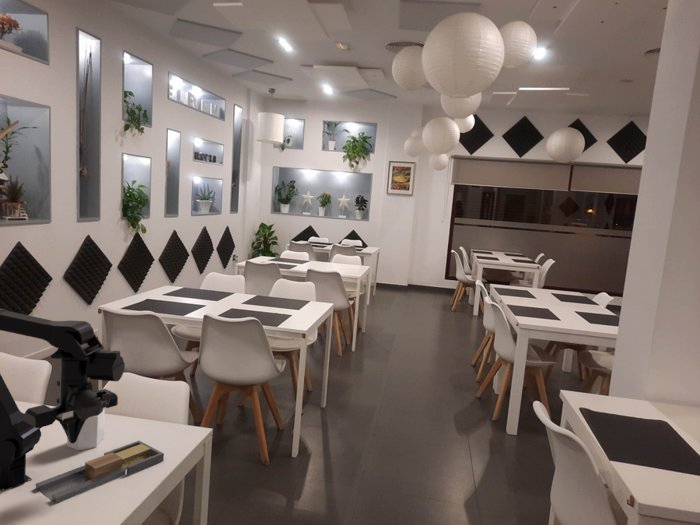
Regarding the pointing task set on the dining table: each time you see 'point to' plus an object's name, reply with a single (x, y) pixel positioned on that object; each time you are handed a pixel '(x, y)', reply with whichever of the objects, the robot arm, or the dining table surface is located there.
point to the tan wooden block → (141, 452)
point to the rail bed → (73, 483)
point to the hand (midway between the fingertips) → (72, 442)
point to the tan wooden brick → (102, 465)
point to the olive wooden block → (127, 458)
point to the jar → (90, 433)
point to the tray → (154, 459)
